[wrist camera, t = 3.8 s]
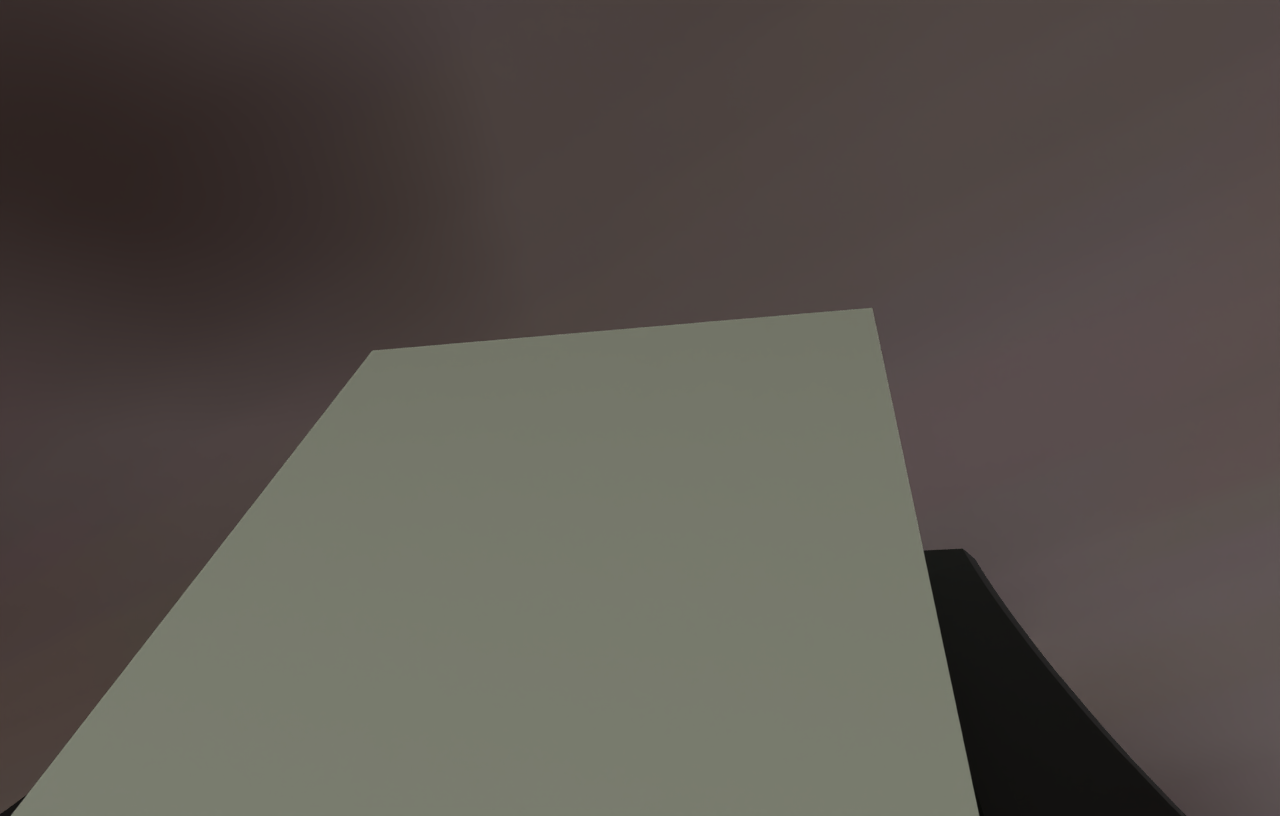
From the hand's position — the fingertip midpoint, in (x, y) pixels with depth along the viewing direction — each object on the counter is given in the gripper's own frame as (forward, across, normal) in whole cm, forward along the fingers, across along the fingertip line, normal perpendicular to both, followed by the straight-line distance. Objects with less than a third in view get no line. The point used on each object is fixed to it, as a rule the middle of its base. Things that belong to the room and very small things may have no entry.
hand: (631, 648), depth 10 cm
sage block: (+2, 0, 0) cm, 2 cm away
